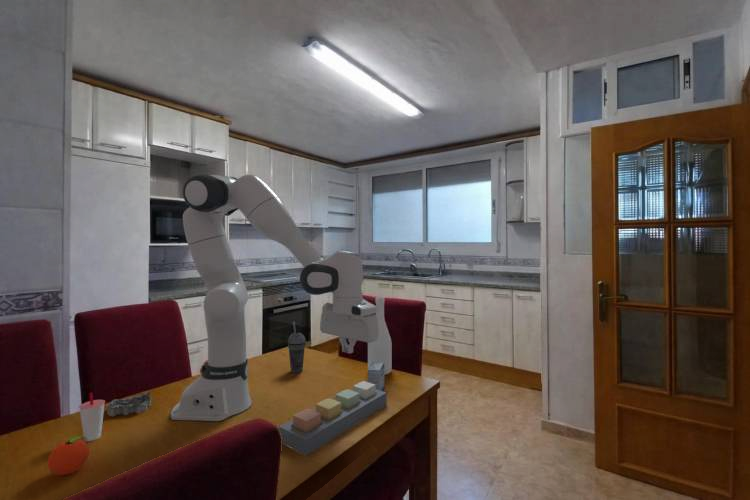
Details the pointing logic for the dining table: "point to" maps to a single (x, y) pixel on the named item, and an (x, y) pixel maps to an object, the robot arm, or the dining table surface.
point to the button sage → (348, 398)
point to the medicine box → (376, 375)
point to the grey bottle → (381, 341)
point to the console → (331, 425)
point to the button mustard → (328, 408)
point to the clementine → (68, 456)
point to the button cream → (365, 389)
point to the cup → (92, 418)
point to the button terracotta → (306, 420)
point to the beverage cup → (296, 351)
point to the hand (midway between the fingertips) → (347, 352)
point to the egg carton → (129, 405)
